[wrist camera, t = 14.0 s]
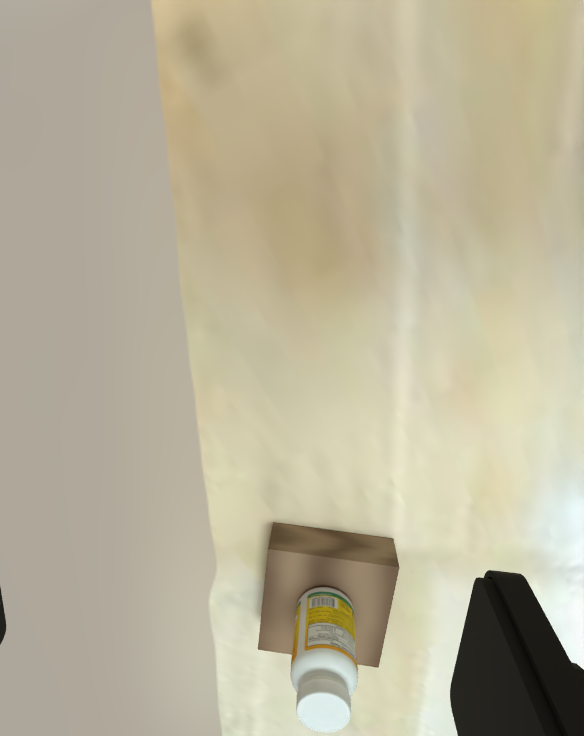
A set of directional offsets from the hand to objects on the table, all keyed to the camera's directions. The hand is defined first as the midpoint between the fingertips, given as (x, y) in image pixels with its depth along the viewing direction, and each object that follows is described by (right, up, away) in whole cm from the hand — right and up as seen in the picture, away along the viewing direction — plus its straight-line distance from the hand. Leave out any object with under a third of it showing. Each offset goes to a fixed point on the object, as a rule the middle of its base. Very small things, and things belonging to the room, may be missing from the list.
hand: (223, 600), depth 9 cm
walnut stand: (+5, -17, +38) cm, 43 cm away
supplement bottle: (+4, -18, +35) cm, 39 cm away
